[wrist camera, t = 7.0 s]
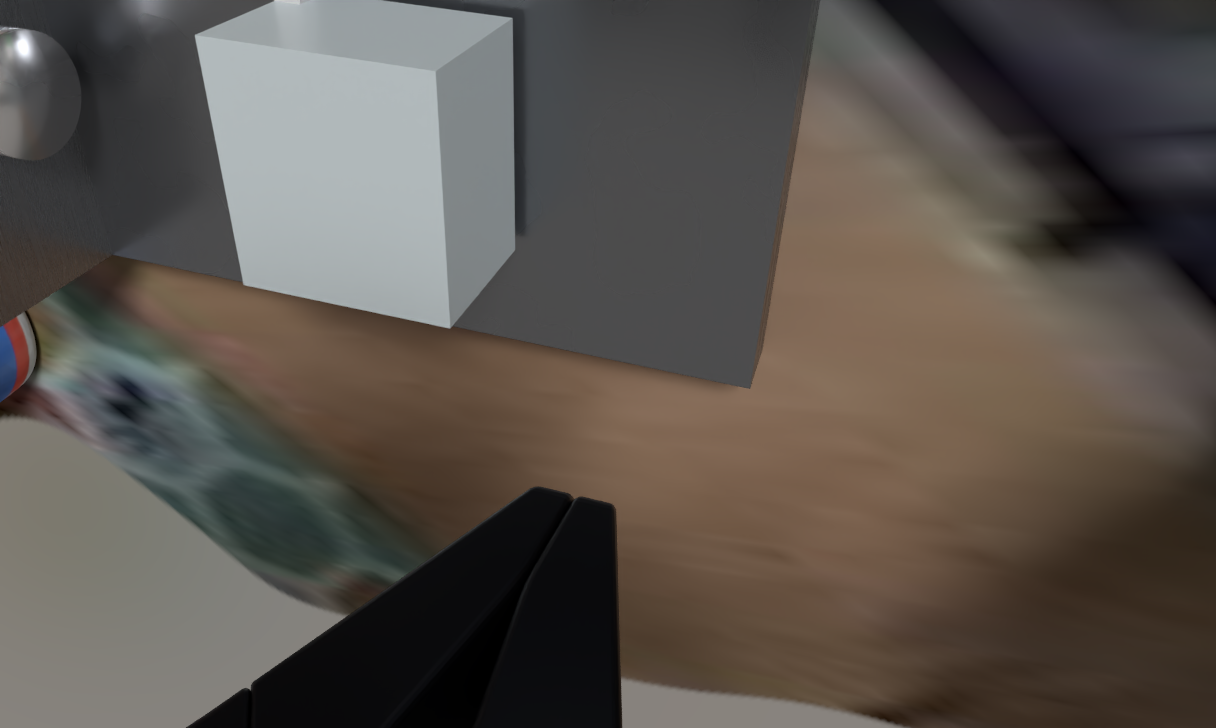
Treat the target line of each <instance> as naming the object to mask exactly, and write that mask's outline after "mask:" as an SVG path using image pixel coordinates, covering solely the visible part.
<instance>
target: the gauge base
mask: <svg viewBox="0 0 1216 728" xmlns="http://www.w3.org/2000/svg"><path fill="white" fill-rule="evenodd" d="M273 1H274V0H0V327H1V326H3V325H5V324H6V323H8V322H9V321H11V320H12V319H14V318H15V317H17V316H18V315H20V314H22V313H23V312H25V311H26V310H28V309H29V308H31V307H32V306H34V305H36V304H37V303H39V302H40V301H42V300H43V299H45V298H46V297H48V296H50V295H51V294H53V293H54V292H56V291H57V290H59V289H60V288H62V287H63V286H65V285H67V284H68V283H70V282H71V281H73V280H74V279H76V278H77V277H79V276H81V275H82V274H84V273H85V272H87V271H88V270H90V269H91V268H93V267H94V266H96V265H98V264H99V263H101V262H102V261H104V260H105V259H107V258H108V257H110V256H112V255H116V256H121V257H126V258H131V259H135V260H140V261H145V262H150V263H155V264H159V265H164V266H169V267H174V268H178V269H183V270H188V271H193V272H197V273H202V274H207V275H212V276H216V277H221V278H226V279H231V280H235V281H240V282H243V279H242V274H241V269H240V264H239V259H238V253H237V248H236V243H235V238H234V233H233V228H232V223H231V218H230V213H229V207H228V202H227V197H226V192H225V187H224V182H223V177H222V172H221V167H220V162H219V156H218V151H217V146H216V141H215V136H214V131H213V126H212V121H211V116H210V111H209V105H208V100H207V95H206V90H205V85H204V80H203V75H202V70H201V65H200V60H199V54H198V49H197V44H196V39H195V35H196V34H198V33H201V32H203V31H205V30H208V29H210V28H212V27H215V26H217V25H219V24H222V23H224V22H226V21H229V20H231V19H233V18H236V17H238V16H240V15H243V14H245V13H247V12H250V11H252V10H254V9H257V8H259V7H261V6H264V5H266V4H268V3H271V2H273ZM383 1H390V2H398V3H405V4H413V5H420V6H428V7H435V8H442V9H450V10H457V11H465V12H472V13H480V14H487V15H494V16H502V17H509V18H513V95H514V189H515V251H514V252H513V253H512V254H511V256H510V257H509V258H508V259H507V260H506V262H505V263H504V264H503V265H502V267H501V268H500V269H499V270H498V271H497V273H496V274H495V275H494V276H493V277H492V279H491V280H490V281H489V282H488V284H487V285H486V286H485V287H484V288H483V290H482V291H481V292H480V293H479V294H478V296H477V297H476V298H475V299H474V300H473V302H472V303H471V304H470V305H469V307H468V308H467V309H466V310H465V311H464V313H463V314H462V315H461V316H460V317H459V319H458V320H457V321H456V322H455V324H454V325H453V326H454V327H459V328H463V329H468V330H473V331H478V332H482V333H487V334H492V335H497V336H502V337H506V338H511V339H516V340H521V341H525V342H530V343H535V344H540V345H544V346H549V347H554V348H559V349H563V350H568V351H573V352H578V353H582V354H587V355H592V356H597V357H601V358H606V359H611V360H616V361H620V362H625V363H630V364H635V365H639V366H644V367H649V368H654V369H658V370H663V371H668V372H673V373H677V374H682V375H687V376H692V377H696V378H701V379H706V380H711V381H715V382H720V383H725V384H730V385H734V386H739V387H744V388H749V389H750V387H751V384H752V381H753V378H754V374H755V371H756V368H757V365H758V362H759V358H760V355H761V352H762V348H763V342H764V336H765V330H766V324H767V318H768V312H769V306H770V300H771V294H772V288H773V282H774V276H775V270H776V264H777V258H778V251H779V245H780V239H781V233H782V227H783V221H784V215H785V209H786V203H787V197H788V191H789V185H790V179H791V173H792V167H793V160H794V154H795V148H796V142H797V136H798V130H799V124H800V118H801V112H802V106H803V100H804V94H805V88H806V82H807V76H808V69H809V63H810V57H811V51H812V45H813V39H814V33H815V27H816V21H817V15H818V9H819V3H820V0H383Z"/></svg>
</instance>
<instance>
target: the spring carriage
mask: <svg viewBox="0 0 1216 728" xmlns="http://www.w3.org/2000/svg"><path fill="white" fill-rule="evenodd" d="M195 39H196V44H197V49H198V54H199V60H200V65H201V70H202V75H203V80H204V85H205V90H206V95H207V100H208V105H209V111H210V116H211V121H212V126H213V131H214V136H215V141H216V146H217V151H218V156H219V162H220V167H221V172H222V177H223V182H224V187H225V192H226V197H227V202H228V207H229V213H230V218H231V223H232V228H233V233H234V238H235V243H236V248H237V253H238V259H239V264H240V269H241V274H242V279H243V284H244V285H246V286H251V287H256V288H260V289H265V290H270V291H274V292H279V293H284V294H289V295H293V296H298V297H303V298H308V299H312V300H317V301H322V302H327V303H331V304H336V305H341V306H346V307H350V308H355V309H360V310H365V311H369V312H374V313H379V314H383V315H388V316H393V317H398V318H402V319H407V320H412V321H417V322H421V323H426V324H431V325H436V326H440V327H445V328H451V327H452V326H453V325H454V324H455V322H456V321H457V320H458V319H459V317H460V316H461V315H462V314H463V313H464V311H465V310H466V309H467V308H468V307H469V305H470V304H471V303H472V302H473V300H474V299H475V298H476V297H477V296H478V294H479V293H480V292H481V291H482V290H483V288H484V287H485V286H486V285H487V284H488V282H489V281H490V280H491V279H492V277H493V276H494V275H495V274H496V273H497V271H498V270H499V269H500V268H501V267H502V265H503V264H504V263H505V262H506V260H507V259H508V258H509V257H510V256H511V254H512V253H513V252H514V251H515V189H514V95H513V18H509V17H502V16H494V15H487V14H480V13H472V12H465V11H457V10H450V9H442V8H435V7H428V6H420V5H413V4H405V3H398V2H390V1H383V0H274V1H273V2H271V3H268V4H266V5H264V6H261V7H259V8H257V9H254V10H252V11H250V12H247V13H245V14H243V15H240V16H238V17H236V18H233V19H231V20H229V21H226V22H224V23H222V24H219V25H217V26H215V27H212V28H210V29H208V30H205V31H203V32H201V33H198V34H196V35H195Z"/></svg>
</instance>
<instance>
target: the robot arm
mask: <svg viewBox="0 0 1216 728" xmlns="http://www.w3.org/2000/svg"><path fill="white" fill-rule="evenodd" d="M621 706H622V703H621V666H620V630H619V595H618V559H617V524H616V509H615V507H614V505H612V504H610V503H607V502H603V501H598V500H594V499H590V498H586V497H578V498H576V499H574V498H573V497H572V496H571V495H570V494H568V493H565V492H561V491H556V490H552V489H548V488H544V487H533V488H530V489H529V490H527V491H526V492H524V493H523V494H521V495H520V496H519V497H517V498H516V499H514V500H513V501H511V502H510V503H509V504H507V505H506V506H504V507H503V508H501V509H500V510H499V511H497V512H496V513H494V514H493V515H491V516H490V517H489V518H487V519H486V520H484V521H483V522H481V523H480V524H479V525H477V526H476V527H474V528H473V529H471V530H470V531H469V532H467V533H466V534H464V535H463V536H461V537H460V538H459V539H457V540H456V541H454V542H453V543H451V544H450V545H448V546H447V547H446V548H444V549H443V550H441V551H440V552H438V553H437V554H436V555H434V556H433V557H431V558H430V559H428V560H427V561H426V562H424V563H423V564H421V565H420V566H418V567H417V568H416V569H414V570H413V571H411V572H410V573H408V574H407V575H406V576H404V577H403V578H401V579H400V580H398V581H397V582H396V583H394V584H393V585H391V586H390V587H388V588H387V589H385V590H384V591H383V592H381V593H380V594H378V595H377V596H375V597H374V598H373V599H371V600H370V601H368V602H367V603H365V604H364V605H363V606H361V607H360V608H358V609H357V610H355V611H354V612H353V613H351V614H350V615H348V616H347V617H345V618H344V619H343V620H341V621H340V622H338V623H337V624H335V625H334V626H333V627H331V628H330V629H328V630H327V631H325V632H324V633H323V634H321V635H320V636H318V637H317V638H315V639H314V640H312V641H311V642H310V643H308V644H307V645H305V646H304V647H302V648H301V649H300V650H298V651H297V652H295V653H294V654H292V655H291V656H290V657H289V658H287V659H285V660H284V661H282V662H281V663H280V664H278V665H277V666H275V667H274V668H272V669H271V670H270V671H268V672H267V673H265V674H264V675H262V676H261V677H260V678H258V679H257V680H255V681H254V682H253V683H252V685H251V691H250V690H249V689H247V688H244V689H242V690H240V691H239V692H238V693H236V694H235V695H233V696H232V697H230V698H229V699H228V700H226V701H225V702H223V703H222V704H220V705H219V706H217V707H216V708H215V709H213V710H212V711H210V712H209V713H207V714H206V715H205V716H203V717H201V718H200V719H198V720H197V721H195V722H194V723H193V724H191V725H189V726H188V727H186V728H622V707H621Z"/></svg>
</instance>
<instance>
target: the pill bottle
mask: <svg viewBox="0 0 1216 728" xmlns="http://www.w3.org/2000/svg"><path fill="white" fill-rule="evenodd" d="M35 362H36V342H35V337H34V333H33V330H32V327H31V325H30V322H29V320H28V317H27V315H26V313H25V312H23V313H22V314H20V315H18V316H17V317H15V318H14V319H12V320H11V321H9V322H8V323H6V324H5V325H3V326H1V327H0V402H1V401H3V400H4V399H5V398H7V397H8V396H9V395H11V394H12V393H13V392H14V391H16V390H17V389H18V388H19V387H20V386H22V385H23V384H24V383H25V382H26V380H27V379H28V378H29V376H30V375H31V373H32V371H33V369H34V366H35Z"/></svg>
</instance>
